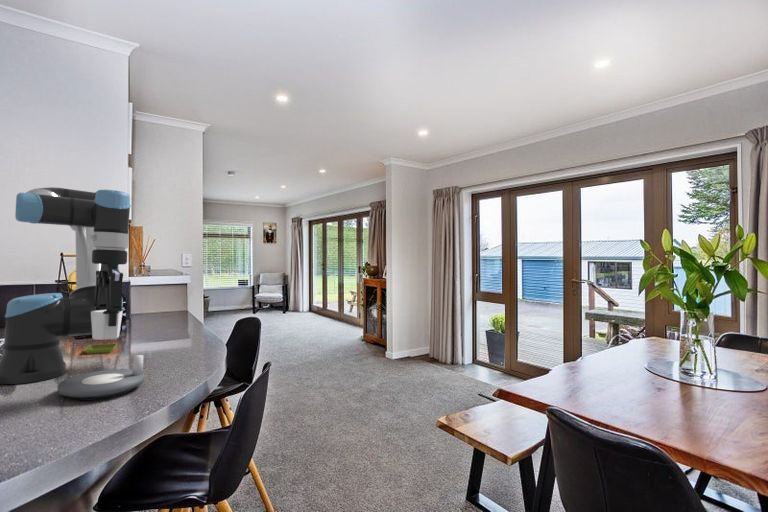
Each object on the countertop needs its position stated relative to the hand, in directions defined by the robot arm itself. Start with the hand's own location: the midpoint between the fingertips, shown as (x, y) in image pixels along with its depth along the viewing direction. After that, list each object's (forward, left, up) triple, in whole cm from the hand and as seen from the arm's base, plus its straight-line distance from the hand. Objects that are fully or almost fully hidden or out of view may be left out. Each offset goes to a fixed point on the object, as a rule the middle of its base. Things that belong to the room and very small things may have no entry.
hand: (105, 336), depth 98 cm
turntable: (0, 0, -13) cm, 13 cm away
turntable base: (0, 0, -14) cm, 14 cm away
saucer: (-33, +37, -15) cm, 52 cm away
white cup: (0, 0, -1) cm, 1 cm away
